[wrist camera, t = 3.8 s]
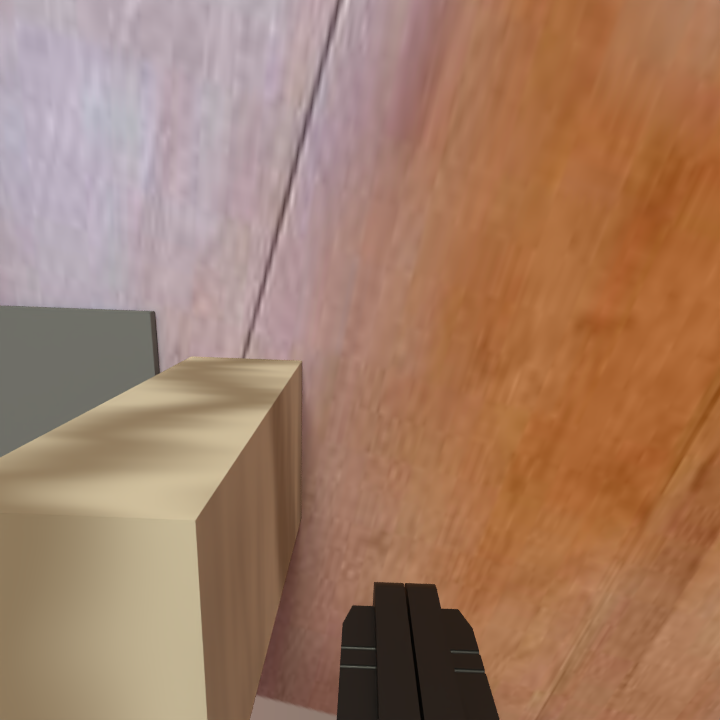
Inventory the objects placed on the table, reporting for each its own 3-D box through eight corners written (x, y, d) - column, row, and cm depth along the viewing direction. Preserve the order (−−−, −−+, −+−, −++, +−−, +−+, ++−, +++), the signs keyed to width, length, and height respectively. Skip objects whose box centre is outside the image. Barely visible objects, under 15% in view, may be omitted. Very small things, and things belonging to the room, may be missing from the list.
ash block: (301, 360, 19) (195, 520, 7) (301, 518, 21) (215, 853, 9) (191, 356, 19) (-98, 508, 7) (200, 514, 21) (-19, 843, 9)
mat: (154, 311, 18) (149, 312, 18) (172, 548, 21) (168, 554, 21) (-161, 299, 18) (-172, 300, 18) (-103, 537, 21) (-112, 542, 21)
